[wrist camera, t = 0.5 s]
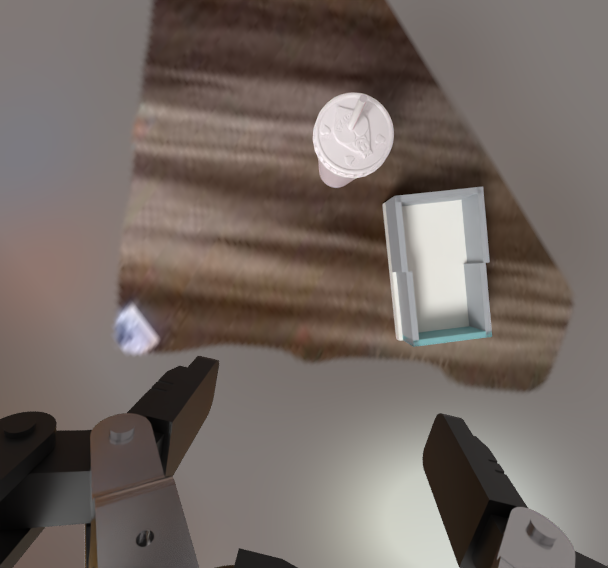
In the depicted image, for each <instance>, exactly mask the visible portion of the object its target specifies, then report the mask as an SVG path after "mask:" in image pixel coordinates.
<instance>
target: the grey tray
mask: <svg viewBox="0 0 608 568" xmlns="http://www.w3.org/2000/svg"><path fill="white" fill-rule="evenodd" d="M383 214H384V223H385V233H386V243H387V253H388V262H389V272H390V282H391V292H392V301H393V311H394V321H395V331H396V339H398V340H399V341H400V340H404V341H405V342H407V343H409V344H410V345H412V346H413V347H415V346H423V345H430V344H438V343H446V342H454V341H461V340H469V339H477V338H485V337H492V329H491V318H490V307H489V295H488V284H487V272H486V263H487V262H490V261H489V249H488V238H487V226H486V215H485V203H484V192H483V187H474V188H465V189H455V190H446V191H437V192H427V193H418V194H409V195H399V196H394V197H392V198H391V199H389V200H388V201H386V202H385V203H384V204H383Z"/></svg>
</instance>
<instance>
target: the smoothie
mask: <svg viewBox="0 0 608 568" xmlns="http://www.w3.org/2000/svg"><path fill="white" fill-rule="evenodd" d="M393 139H394V129H393V123H392V120H391V118H390V115H389V113H388V112H387V110H386V109H385V108H384V106H383V105H382V104H381V103H380V102H378V101H377V100H376V99H374V98H373V97H371V96H368V95H366V94H362V93H346V94H342V95H339V96H337V97H335V98H333V99H332V100H330V101H329V102H328V103H327V104H326V105H325V106H324V107H323V108H322V110H321V111H320V113H319V115H318V117H317V120H316V123H315V126H314V129H313V143H314V148H315V152H316V154H317V156H318V162H319V173H320V177H321V179H322V180H323V182H324V183H325V184H327V185H328V186H330V187H334V188H339V187H343V186H345V185H346V184H348V183H349V182H351V181H353V180H354V179H356V178H358V177H364V176H366V175H368V174H370V173H372V172H374V171H375V170H377V169H378V168H379V167H380V166H381V165H382V164H383V162H384V161H385V159H386V158H387V156H388V154H389V153H390V150H391V148H392V144H393Z"/></svg>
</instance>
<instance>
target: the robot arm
mask: <svg viewBox="0 0 608 568" xmlns="http://www.w3.org/2000/svg"><path fill="white" fill-rule="evenodd" d="M218 368H219V360H215V359H211V358H207V357H202V356H197V357H196V359H195V360H194V361H193V362H192V363H191V364H190V365H189V367H188V368H187V367H183V366H178V367H176V368H174V369H172V370H169V371H167V372H166V373H165V374H164V375H163V376H162V377H161V378H160V379H159V381H158V382H156V384H154V385H153V386H152V388H151V389H150V390H149V391H148V392H147V393H146V394H145V395H144V396H143V397H142V398H141V399H140V400H139V401H138V402H137V403H136V404H135V405H134V406H133V407H132V408H131V409H130V410H129V411H128V412H127V413H123V414H117V415H113V416H110V417H107V418H105V419H103V420H102V421H100V422H99V423H98V424H97V425H95V427H94V428H93V429H92V430H82V431H81V430H80V431H78V430H77V431H56V420H55V418H54V417H53V416H51V415H50V414H47V413H44V412H22V413H17V414H13V415H10V416H7V417H5V418H2V419H0V568H12V567H14V565H15V564H16V563H17V562H18V560H19V559H20V558H21V557H22V555H23V554H24V553H25V552H26V550H27V549H28V548H29V547H30V545H31V544H32V543H33V542H34V540H35V539H36V538H37V537H38V536H39V534H40V533H41V532H42V530H43V529H44V528H45V527H49V526H61V525H73V524H84V526H85V527H84V530H85V531H84V532H85V533H84V534H85V568H199V565H198V562H197V558H196V554H195V551H194V547H193V544H192V540H191V537H190V534H189V530H188V526H187V523H186V519H185V516H184V512H183V509H182V505H181V502H180V498H179V495H178V491H177V488H176V484H175V481H174V479H173V475H174V473H175V471H176V470H177V468H178V466H179V464H180V463H181V461H182V459H183V457H184V456H185V454H186V452H187V451H188V449H189V447H190V445H191V444H192V442H193V440H194V438H195V437H196V435H197V433H198V431H199V430H200V428H201V426H202V424H203V423H204V421H205V419H206V418H207V416H208V414H209V411H210V409H211V406H212V402H213V398H214V392H215V386H216V380H217V374H218ZM423 467H424V471H425V474H426V476H427V479H428V481H429V485H430V487H431V490H432V493H433V496H434V499H435V501H436V504H437V507H438V510H439V513H440V515H441V518H442V521H443V524H444V526H445V529H446V532H447V535H448V537H449V540H450V543H451V546H452V549H453V551H454V554H455V557H456V560H457V563H458V565H459V567H460V568H608V566H605V565H603V564H601V563H599V562H597V561H595V560H593V559H591V558H589V557H586V556H584V555H582V554H580V553H578V552H576V551H575V550H574V547H573V545H572V543H571V541H570V540H569V538H568V537H567V536H566V535H565V534H564V532H563V531H562V530H561V529H560V528H559V527H557V526H556V525H555V524H554V523H553V522H551V521H550V520H549V519H547V518H546V517H545V516H543V515H541V514H540V513H538V512H536V511H534V510H531V509H528V507H527V506H526V504H525V503H524V501H523V500H522V498H521V497H520V495H519V494H518V492H517V491H516V489H515V487H514V486H513V484H512V483H511V481H510V480H509V478H508V477H507V475H505V474H504V471H503V469H502V468H501V466H500V465H499V464H497V460H496V458H495V457H494V456H493V454H492V453H491V451H490V450H489V448H488V447H487V446H486V445H485V444H483V443H482V442H481V441H480V440H479V439H478V438H477V437H476V436H473V435H472V433H471V431H470V430H469V428H468V427H467V425H466V424H465V422H464V420H463V419H461V418H458V417H454V416H450V415H446V414H441V413H440V414H438V415H437V416H436V418H435V420H434V423H433V426H432V429H431V431H430V434H429V437H428V440H427V442H426V445H425V448H424V451H423ZM216 568H297V567H295V566H294V565H292V564H290V563H288V562H286V561H285V560H283V559H280V558H276V557H272V556H268V555H264V554H260V553H256V552H252V551H247V550H244V549H239V551H238V554H237V558H236V562H235V565H227V566H221V567H216Z"/></svg>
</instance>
